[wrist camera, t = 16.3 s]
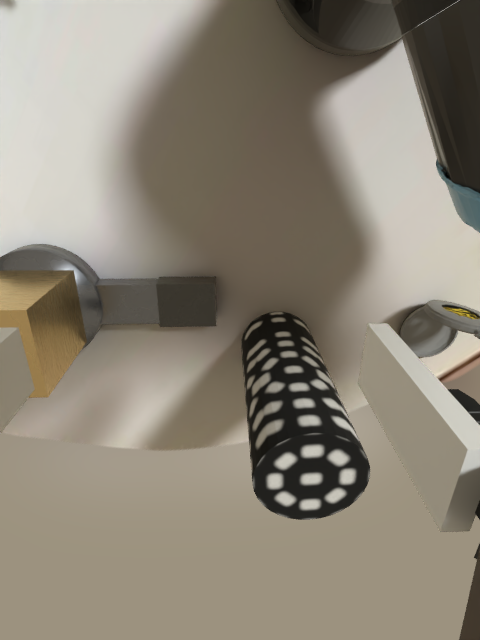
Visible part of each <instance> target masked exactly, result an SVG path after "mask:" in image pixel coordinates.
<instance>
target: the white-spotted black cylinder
mask: <svg viewBox="0 0 480 640" xmlns="http://www.w3.org/2000/svg"><path fill="white" fill-rule="evenodd" d="M241 349H242V361H243V373H244V385H245V397H246V409H247V421H248V433H249V445H250V457H251V470H252V481H253V488H254V492H255V494H256V496H257V498H258V500H259V501H260V502H261V503H262V504H263V505H264V506H265V507H266V508H267V509H269V510H270V511H272V512H274V513H276V514H278V515H280V516H284V517H287V518H292V519H300V520H302V519H303V520H310V519H317V518H322V517H326V516H330V515H333V514H335V513H337V512H340V511H342V510H343V509H345V508H347V507H348V506H350V505H351V504H352V503H353V502H354V501H356V500H357V499H358V498H359V497H360V495H361V494H362V493H363V492H364V490H365V488H366V486H367V484H368V481H369V477H370V465H369V462H368V458H367V456H366V454H365V452H364V450H363V447H362V445H361V443H360V441H359V439H358V436H357V434H356V432H355V430H354V428H353V426H352V423H351V421H350V419H349V417H348V414H347V412H346V410H345V408H344V406H343V403H342V401H341V399H340V397H339V395H338V392H337V390H336V388H335V386H334V384H333V381H332V379H331V377H330V375H329V373H328V370H327V368H326V366H325V364H324V362H323V359H322V357H321V355H320V353H319V351H318V348H317V346H316V344H315V342H314V340H313V337H312V335H311V333H310V331H309V329H308V327H307V325H306V324H305V323H304V322H303V321H302V320H301V319H299V318H298V317H296V316H294V315H292V314H289V313H284V312H273V313H268V314H265V315H262V316H260V317H258V318H257V319H255V320H254V321H253V322H252V323H251V324H250V325H249V326H248V327H247V328H246V330H245V332H244V334H243V337H242V343H241Z"/></svg>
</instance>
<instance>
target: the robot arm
mask: <svg viewBox="0 0 480 640" xmlns="http://www.w3.org/2000/svg"><path fill="white" fill-rule="evenodd" d="M276 1H277V3H278V5H279V7H280V9H281V11H282V13H283V14H284V16H285V17H286V19H287V21H288V22H289V23H290V25H291V26H292V27H293V28H294V29H295V30H296V32H297V33H298V34H299V35H300V36H301V37H303V38H304V39H305V40H306V41H308V42H309V43H311V44H312V45H314V46H315V47H317V48H319V49H321V50H324V51H326V52H329V53H333V54H337V55H346V56H356V55H363V54H368V53H371V52H375V51H377V50H380V49H382V48H384V47H386V46H388V45H390V44H392V43H393V42H395V41H397V40H398V39H400V38H402V40H403V43H404V47H405V50H406V53H407V57H408V60H409V64H410V67H411V71H412V74H413V77H414V81H415V84H416V88H417V91H418V95H419V98H420V101H421V105H422V108H423V112H424V115H425V118H426V122H427V125H428V129H429V132H430V136H431V139H432V142H433V146H434V149H435V153H436V156H437V161H436V167H437V170H438V173H439V175H440V177H441V178H442V179H443V180H444V182H445V183H446V184H447V187H448V190H449V192H450V195H451V198H452V201H453V203H454V206H455V209H456V211H457V213H458V215H459V216H460V218H461V219H462V220H463V222H465V223H466V224H468V225H469V226H471V227H473V228H474V229H475V230H477V231H478V232H479V233H480V0H460V1H458V0H276ZM457 1H458V2H457ZM455 2H457V3H455ZM453 3H455V4H453ZM452 4H453V5H452ZM450 5H452V6H450ZM449 6H450V7H449ZM447 7H448V8H447ZM445 8H447V9H445ZM444 9H445V10H444ZM442 10H444V11H442ZM440 11H442V12H440ZM439 12H440V13H439ZM437 13H439V14H437ZM435 14H437V15H435ZM434 15H435V16H434ZM432 16H434V17H432ZM431 17H432V18H431ZM429 18H431V19H429ZM427 19H429V20H427ZM426 20H427V21H426ZM424 21H426V22H424ZM422 22H424V23H422ZM421 23H422V24H421ZM419 24H421V25H419ZM418 25H419V26H418ZM417 26H418V27H417ZM415 27H416V28H415ZM358 385H359V387H360V388H361V390H362V392H363V394H364V396H365V397H366V399H367V401H368V403H369V405H370V406H371V408H372V410H373V412H374V414H375V415H376V417H377V419H378V421H379V423H380V424H381V426H382V428H383V430H384V432H385V433H386V435H387V437H388V439H389V441H390V442H391V444H392V446H393V448H394V450H395V451H396V453H397V455H398V457H399V459H400V460H401V462H402V464H403V466H404V468H405V469H406V471H407V473H408V475H409V477H410V478H411V480H412V482H413V484H414V486H415V487H416V489H417V491H418V493H419V495H420V496H421V498H422V500H423V502H424V504H425V505H426V507H427V509H428V511H429V513H430V514H431V516H432V518H433V520H434V522H435V523H436V525H437V527H438V528H439V531H440V532H459V531H470V529H471V526H472V523H473V521H474V518H475V515H477V516H478V518H479V519H480V405H479V404H478V403H477V402H476V401H475V400H474V399H473V398H471V397H470V396H468V395H466V394H465V393H463V392H461V391H460V390H458V389H452V390H451V389H450V390H449V389H448V390H447V389H446V388H445V386H444V385H443V384H442V383H441V382H440V381H439V380H438V379H437V378H436V377H435V375H434V374H433V373H432V372H431V371H430V370H429V369H428V368H427V367H426V365H425V364H424V363H423V362H422V361H421V360H420V359H419V358H418V357H417V356H416V354H415V353H414V352H413V351H412V350H411V349H410V348H409V347H408V346H407V345H406V343H405V342H404V341H403V340H402V339H401V338H400V337H399V336H398V335H397V333H396V332H395V331H394V330H393V329H392V328H391V327H390V326H389V325H388V324H387V323H380V324H368V325H367V331H366V337H365V343H364V350H363V356H362V362H361V368H360V374H359V381H358ZM34 390H35V388H34V384H33V380H32V377H31V373H30V369H29V365H28V362H27V358H26V354H25V350H24V346H23V343H22V339H21V335H20V331H19V327H8V328H0V434H1V432H2V431H3V430H4V428H5V427H6V426H7V425H8V423H9V422H10V421H11V419H12V418H13V417H14V415H15V414H16V413H17V412H18V410H19V409H20V408H21V406H22V405H23V404H24V403H25V401H26V400H27V399H28V397H29V396H30V395H31V393H32V392H33V391H34ZM474 558H476V559H477V563H476V567H475V571H474V576H473V581H472V585H471V590H470V594H469V599H468V603H467V607H466V612H465V616H464V621H463V626H462V630H461V634H460V639H459V640H480V544H479V546H478V549H477V552H476V554H475V556H474Z"/></svg>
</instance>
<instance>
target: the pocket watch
mask: <svg viewBox="0 0 480 640" xmlns="http://www.w3.org/2000/svg"><path fill="white" fill-rule="evenodd" d="M458 331H462V332H466V333H470V334H475V335H474V336H475V337H477V338H478V339H480V312H478V311H476V310H474V309H471V308H468V307H466V306H462V305H459V304H456V303H452V302H447V301H440V300H431V301H428V303H427V304H426V305H425V306H423V307H421V308H419V309H417V310H415V311H414V312H412V313H411V314H410V315H409V316H408V317H407V318H406V320H405V321H404V323H403V325H402V327H401V331H400V338H401V339H402V340H403V341H404V342H405V343H406V345H407V346H408V347H409V348H410V349H411V350H412V351H413V352H414V353H415V354H416V356H418V357H430V356H434V355H437V354H439V353H441V352H443V351H444V350H445V349H447V348H448V347H449V346H450V345H451V344H452V343H453V342H454V340H455V338H456V336H457V334H458Z"/></svg>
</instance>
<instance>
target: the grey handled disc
mask: <svg viewBox="0 0 480 640" xmlns="http://www.w3.org/2000/svg"><path fill="white" fill-rule="evenodd" d="M14 270H74V274H75V280H76V285H77V290H78V296H79V301H80V307H81V312H82V318H83V323H84V329H85V334H86V339H87V342H86V343H85V345H84V346H83V348H84V347H86V346H87V345H88V344H89V343H90V342H91V340H92V339H93V338H94V336H95V335H96V333H97V332H98V330H99V329H100V327H101V326H102V324H157V323H160V327H182V326H216V277H159V279H99V277H98V276H97V274H96V273H95V271H94V270H93V269H92V268H91V267H90V266H89V265H88V264H87V263H86V262H85V261H84V260H82V259H81V258H80V257H78V256H77V255H75V254H73V253H72V252H70V251H67V250H65V249H63V248H60V247H56V246H52V245H46V244H33V245H27V246H23V247H20V248H18V249H15V250H14V251H12V252H10V253H8V254H6V255H4V256H2V257H0V271H14ZM83 348H82V349H83Z"/></svg>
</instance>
